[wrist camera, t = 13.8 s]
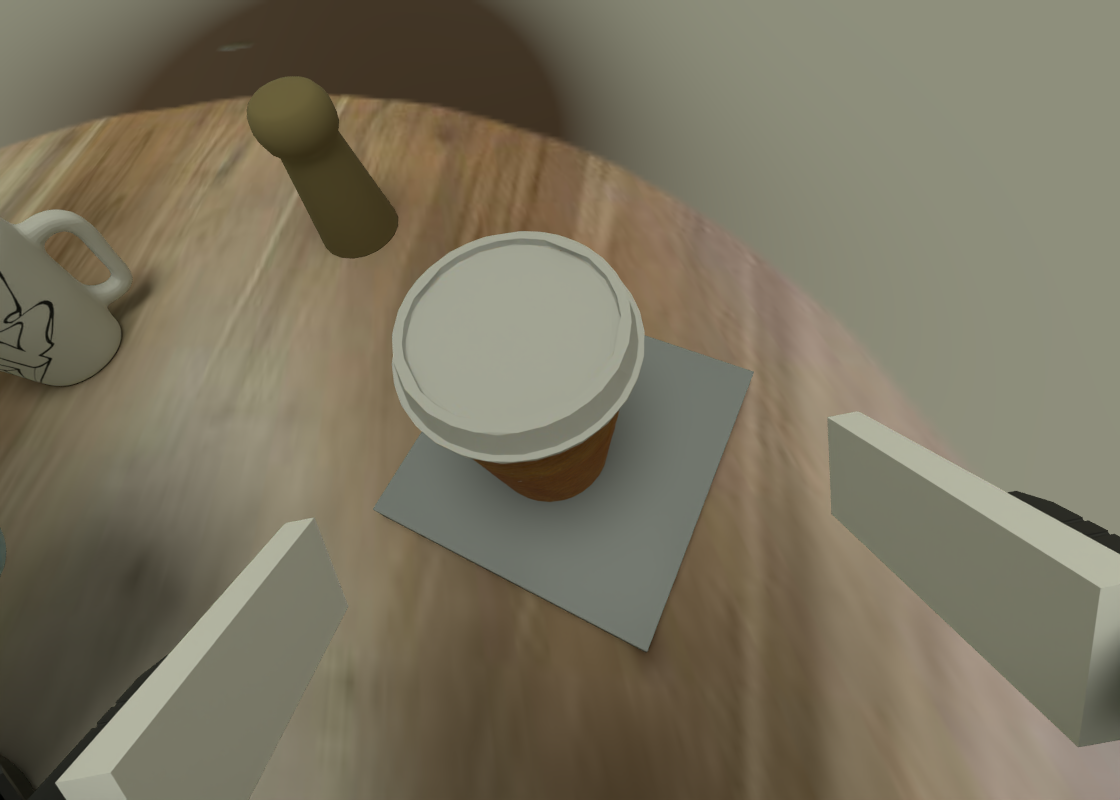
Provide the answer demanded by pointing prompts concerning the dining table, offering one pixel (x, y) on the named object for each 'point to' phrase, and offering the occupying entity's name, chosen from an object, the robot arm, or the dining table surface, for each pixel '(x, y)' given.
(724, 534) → the dining table surface
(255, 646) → the robot arm
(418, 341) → the disposable coffee cup
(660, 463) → the slate board
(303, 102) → the olive pawn
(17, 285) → the mug
